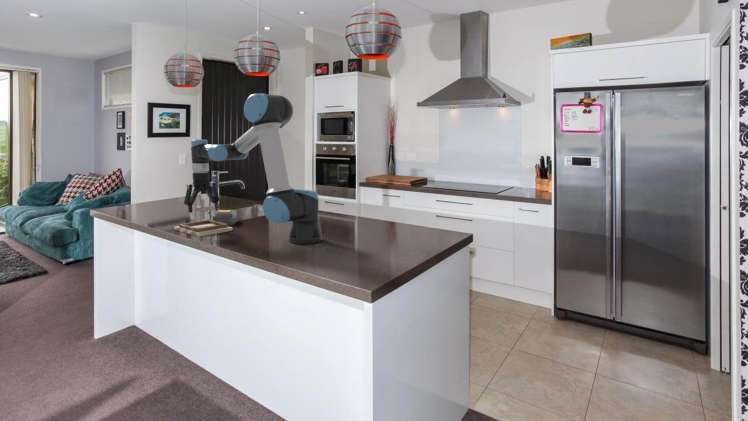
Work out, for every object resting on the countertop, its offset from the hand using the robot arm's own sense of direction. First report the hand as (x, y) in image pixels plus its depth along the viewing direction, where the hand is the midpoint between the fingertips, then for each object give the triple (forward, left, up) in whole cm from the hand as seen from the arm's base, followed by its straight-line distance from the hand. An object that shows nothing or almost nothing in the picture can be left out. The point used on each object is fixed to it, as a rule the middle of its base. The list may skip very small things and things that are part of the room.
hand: (203, 217), depth 217 cm
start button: (+18, -6, -3) cm, 19 cm away
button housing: (+18, -6, -6) cm, 20 cm away
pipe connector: (0, 0, -1) cm, 1 cm away
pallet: (0, 0, -6) cm, 6 cm away
